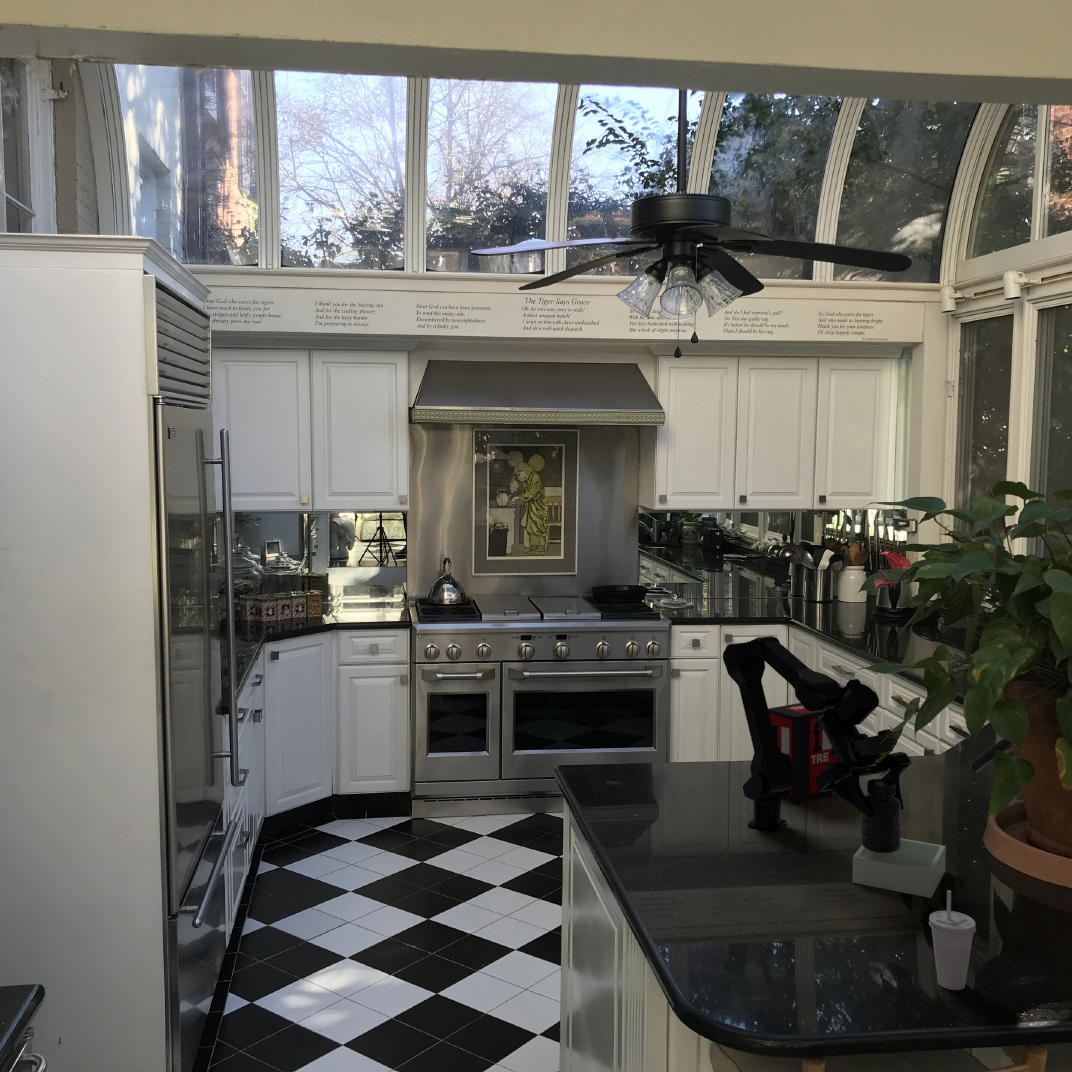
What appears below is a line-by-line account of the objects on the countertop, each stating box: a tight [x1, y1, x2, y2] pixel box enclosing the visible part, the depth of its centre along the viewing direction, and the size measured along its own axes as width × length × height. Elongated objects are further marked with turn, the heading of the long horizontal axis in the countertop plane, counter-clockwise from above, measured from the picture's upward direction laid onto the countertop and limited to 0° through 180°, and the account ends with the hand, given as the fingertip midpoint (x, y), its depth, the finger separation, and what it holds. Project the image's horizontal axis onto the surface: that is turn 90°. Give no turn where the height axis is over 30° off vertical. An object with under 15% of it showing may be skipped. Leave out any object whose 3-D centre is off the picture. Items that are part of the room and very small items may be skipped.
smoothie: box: [928, 889, 977, 991], centre depth 149 cm, size 6×6×14 cm
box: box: [852, 837, 947, 899], centre depth 187 cm, size 14×14×5 cm
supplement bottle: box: [860, 778, 902, 853], centre depth 184 cm, size 7×7×12 cm
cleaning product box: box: [768, 702, 840, 805], centre depth 235 cm, size 16×9×20 cm, turn 120°
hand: (886, 813), depth 183 cm, fingers closed on supplement bottle, 7 cm apart
